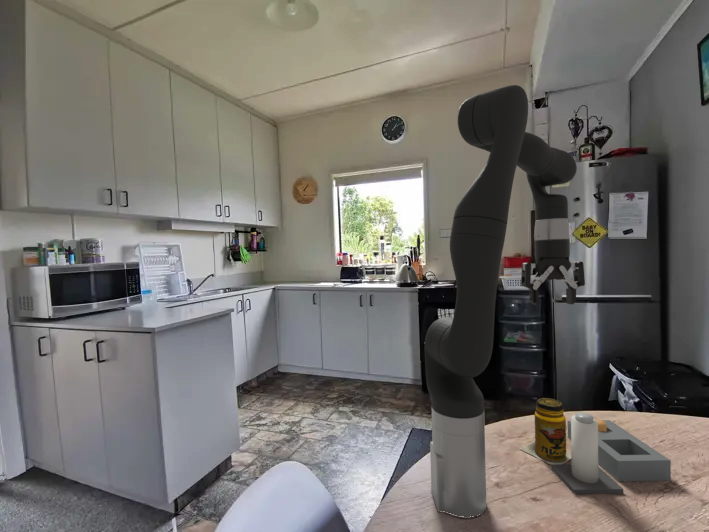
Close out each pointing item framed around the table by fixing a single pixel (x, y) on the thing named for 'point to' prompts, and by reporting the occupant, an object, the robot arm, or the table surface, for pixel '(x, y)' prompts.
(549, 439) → the condiment
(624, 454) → the block
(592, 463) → the cylinder
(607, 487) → the mat
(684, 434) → the table surface
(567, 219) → the robot arm
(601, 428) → the plunger
